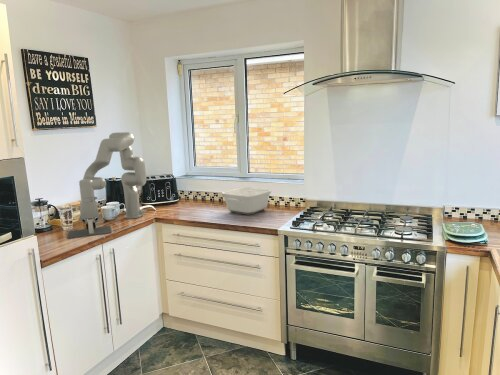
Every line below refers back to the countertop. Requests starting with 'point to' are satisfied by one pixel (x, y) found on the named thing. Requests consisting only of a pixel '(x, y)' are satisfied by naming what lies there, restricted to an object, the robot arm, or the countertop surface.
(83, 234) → the mat
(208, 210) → the countertop surface
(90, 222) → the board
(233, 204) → the white plastic tub
